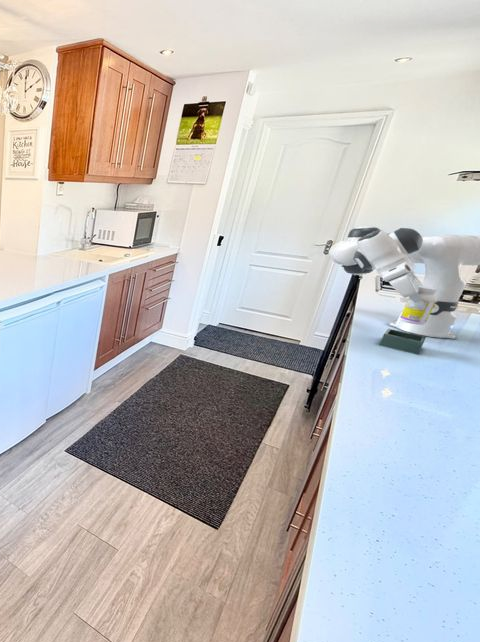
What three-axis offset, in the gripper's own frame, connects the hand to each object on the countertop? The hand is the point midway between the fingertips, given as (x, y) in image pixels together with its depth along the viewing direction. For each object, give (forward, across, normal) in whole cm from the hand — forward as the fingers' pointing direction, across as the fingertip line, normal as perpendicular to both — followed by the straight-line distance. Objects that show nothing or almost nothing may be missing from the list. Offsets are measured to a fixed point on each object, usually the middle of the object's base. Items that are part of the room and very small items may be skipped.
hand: (423, 303), depth 142 cm
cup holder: (+12, 0, -12) cm, 17 cm away
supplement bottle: (+5, 0, -6) cm, 8 cm away
